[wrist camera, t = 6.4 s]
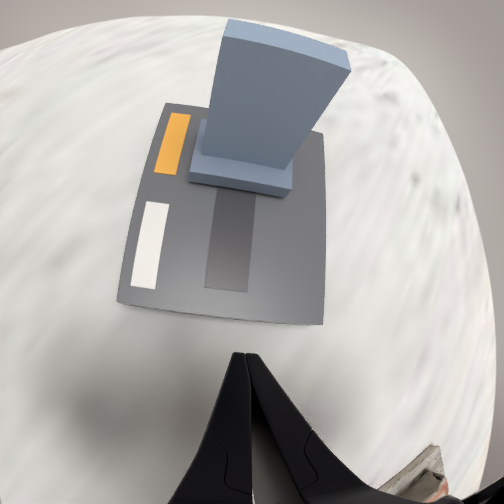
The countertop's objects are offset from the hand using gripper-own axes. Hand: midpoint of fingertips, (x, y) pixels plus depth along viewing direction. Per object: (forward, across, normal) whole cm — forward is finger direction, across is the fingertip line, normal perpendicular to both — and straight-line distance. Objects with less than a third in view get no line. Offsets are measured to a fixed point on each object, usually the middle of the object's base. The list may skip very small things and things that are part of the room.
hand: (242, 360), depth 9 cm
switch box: (+12, 0, 0) cm, 12 cm away
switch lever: (+12, 0, -4) cm, 13 cm away
